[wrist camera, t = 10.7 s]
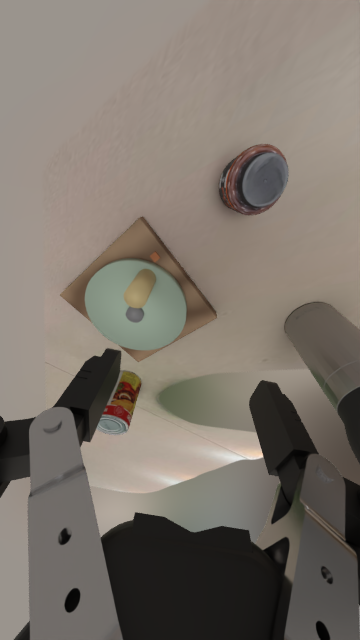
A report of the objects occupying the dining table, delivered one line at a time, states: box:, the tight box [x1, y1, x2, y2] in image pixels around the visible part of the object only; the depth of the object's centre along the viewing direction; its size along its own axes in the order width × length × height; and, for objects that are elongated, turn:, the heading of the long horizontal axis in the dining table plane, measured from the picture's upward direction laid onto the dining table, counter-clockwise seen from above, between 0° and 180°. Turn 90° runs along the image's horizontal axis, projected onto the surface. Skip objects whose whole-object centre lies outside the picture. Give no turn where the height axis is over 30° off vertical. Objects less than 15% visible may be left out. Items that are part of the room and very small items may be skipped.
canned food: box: [96, 371, 141, 435], centre depth 46 cm, size 8×8×12 cm
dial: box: [85, 258, 187, 350], centre depth 32 cm, size 18×18×9 cm
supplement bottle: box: [219, 144, 288, 215], centre depth 22 cm, size 6×6×11 cm
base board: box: [60, 217, 217, 362], centre depth 37 cm, size 21×21×2 cm
